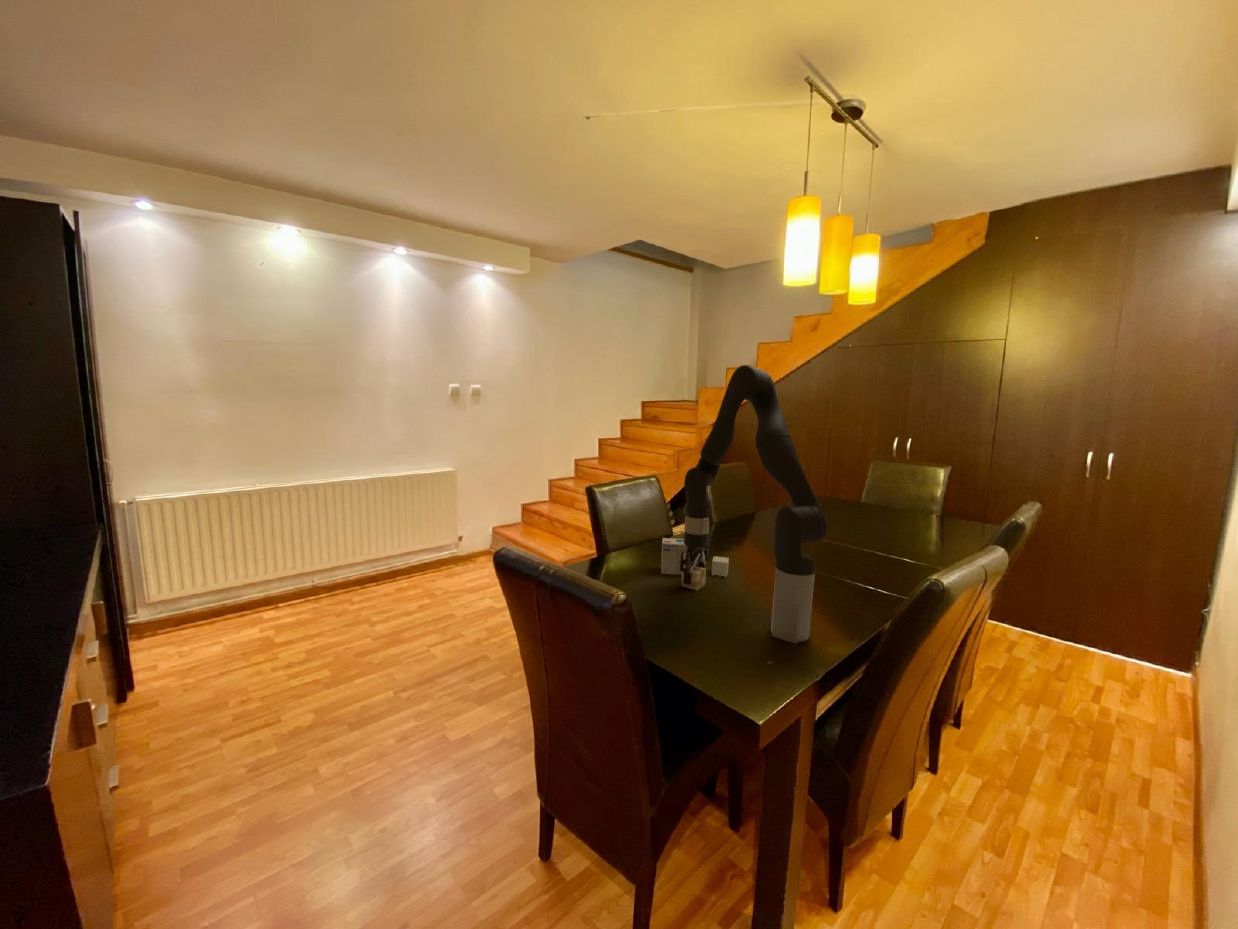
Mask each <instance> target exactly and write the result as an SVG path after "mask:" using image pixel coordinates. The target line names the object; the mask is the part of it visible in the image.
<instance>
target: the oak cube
mask: <svg viewBox="0 0 1238 929" xmlns="http://www.w3.org/2000/svg"><path fill="white" fill-rule="evenodd" d="M689 568H690V566H689ZM706 573H707V568H705V567H704V568H701V567H698V566H697V565H695V567H693V569H692V572H691V584H689V585H688V584H684V582H683V581H684V572H682V575H681V584H680V586H681V587H684V588H686V589H691V590H693V589H694V590H695V591H698V590H700V589H701V587H702V588H703V587H705V586H706V576H707V574H706ZM704 585H705V586H704ZM694 590H693V591H694Z"/></svg>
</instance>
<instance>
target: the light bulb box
mask: <svg viewBox="0 0 1238 929" xmlns="http://www.w3.org/2000/svg"><path fill="white" fill-rule="evenodd" d="M682 552H684V553H686V552H687V546H686V545H685V544H684V538H670V537H669V538H666V537H662V540H661V556H660V557H661V559H660V560H661V561H660V564H661V565H660V566H661V567H660V574H661V575H671V576H672V575H674V576H676V575H677V576H682V572H681V571H680V561H681V553H682ZM690 563H692V562H690ZM683 567H684V564H683Z"/></svg>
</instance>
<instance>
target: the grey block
mask: <svg viewBox="0 0 1238 929" xmlns="http://www.w3.org/2000/svg"><path fill="white" fill-rule="evenodd" d="M729 560H730V558H729V557H725V556H724V557H723V556H722V557H721V556H713V558H712V563H711V576H714V575H718V576H717V577H721V576H724V577H723V578H727V577H728V574H729V565H730V564H729Z"/></svg>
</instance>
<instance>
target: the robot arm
mask: <svg viewBox="0 0 1238 929" xmlns="http://www.w3.org/2000/svg"><path fill="white" fill-rule="evenodd" d="M745 401H747V402H748V401H749V402H750V403H751V405H752V408H753V409H754V412H755V415H756V418H757V429H756V434H755V447H756V450H757V453H758V456H759V458H760V462H761V465H762V466H763V468H764V469H765V471H766V472H767V473H768V474H769V475H770V476H771V478H773V479H774V480H775V481H776V482H777V483H778V484H779V485H780V486H781V487H782V488H783V489H784V490H785V492H786V493H787V495H788V496H789V498H790V500H791V503H792V504H793V505H790V506H783V507H781V508H780V509H779V510H778V511H777V514H776V516H775V521H774V548H773V551H774V557H775V576H774V586H773V587H774V588H773V598H772V612H771V625H770V632H771V637H773V638H775V639H779V640H783V641H786V642H789V643H792V644H795V645H796V644H798V643H803V642H805V641H808V639H809V638H810V630H811V620H812V608H813V607H812V606H813V596H814V586H815V585H814V584H815V576H816V567H817V566H816V560H815V558H812V557H811V556H809V555H807V554H804V553H802V544H809V543H817V542H818V543H819V542H821V541H822V540H824V539H825V537H826V536H827V531H828V524H827V519H826V515H825V513H824V511H823V508H822V507H821V504H820V502H819V500H818V498H817V496H816V495H815V492H814V491H813V488H812V486H811V485H810V482H809V480H808V478H807V475H806V472H805V471H804V467H803V465H802V463H801V460H800V458H799V455H798V452H797V449H796V447H795V444H794V441H793V438H792V435H791V433H790V431H789V429H788V426H787V423H786V420H785V417H784V415H783V413H782V410H781V408H780V404H779V399H778V395H777V391H776V387H775V383H774V380H773V378H772V376H771V375H770V373H768V372H766V370H763V369H760V368H757V367H755V366H752V365H749V364H748V365H747V364H743V365H740V366H738V367H737V368H736V369H735V370H734V371H733V372H732V375H731V377H730V379H729V382H728V384H727V387H726V390H725V393H724V395H723V399H722V401H721V404H720V407H719V410H718V413H717V416H716V419H715V422H714V424H713V426H712V428H711V430H710V432H709V434H708V436H707V437H706V440H705V442H704V443H703V446H702V448H701V450H700V457H699V460H698V462H697V465H696V466H694V467H692V468H690V469H688V470H687V471H686V474H685V476H684V491H685V492H684V494H685V498H686V508H685V509H686V510H685V519H684V529H683V530H684V531H683V532H684V534H683V539H684V544H685V545H686V546H687V552H686V553H684V552H682V553H681V561H680V571H681V572H684V581H683V582H684V584H688V585H689V584H691V572H692V569H693V567H695V566H698V567H701V568H705V566H706V564H707V563H708V562H709V558H710V557H709V556H710V544H709V539H710V538H709V535H710V507H711V506H710V499H709V498H708V497H707V488H708V487H709V486H711V485H712V484H713V482H714V480H715V479H716V476H717V474H718V472H719V469H720V468H721V463H722V462H723V460H724V459H725V457H726V455H727V453H728V451H729V449H730V447H731V445H732V443H733V441H734V437H735V425H736V418H737V414H738V412H739V409H740V408H741V405H742V404H743V402H745ZM690 562H692V563H690ZM683 564H684V567H683ZM689 566H690V568H689Z"/></svg>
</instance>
